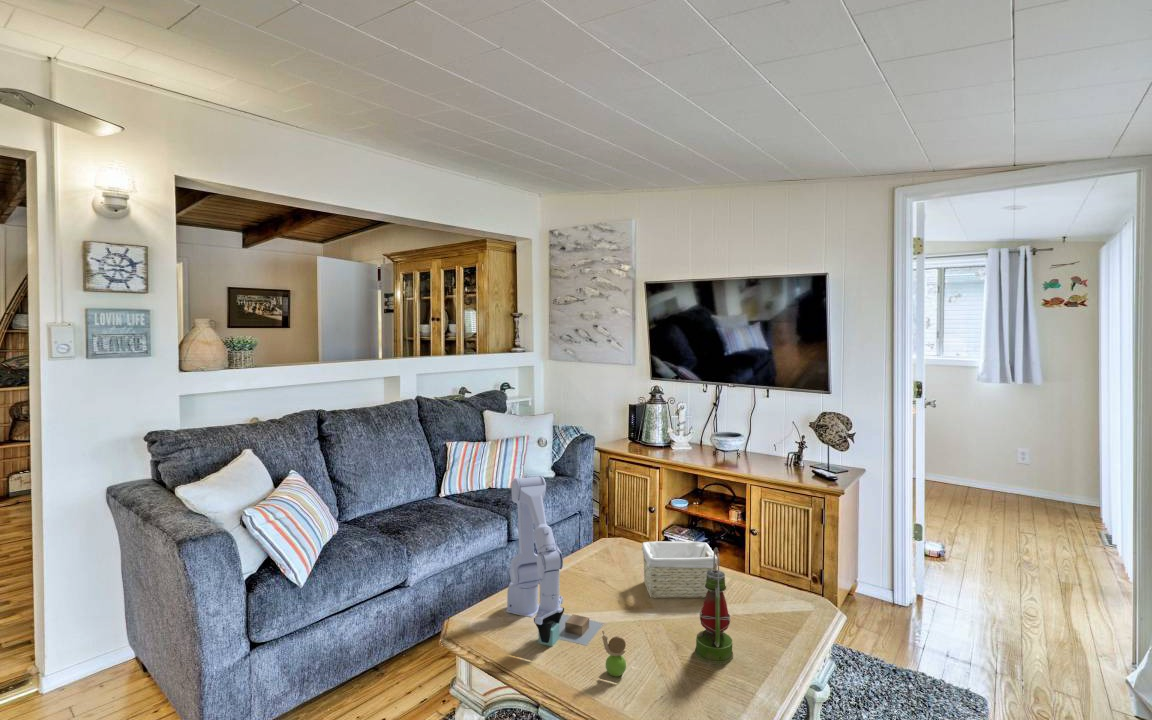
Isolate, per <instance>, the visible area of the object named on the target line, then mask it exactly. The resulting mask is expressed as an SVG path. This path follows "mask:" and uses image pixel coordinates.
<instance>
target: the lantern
mask: <svg viewBox="0 0 1152 720" xmlns="http://www.w3.org/2000/svg"><path fill="white" fill-rule="evenodd" d="M713 552H714V561H713V570H710V571H707V579H706V584H705V588H706V589H708V592H707V594H706V597H704V600H703V605H702V608H701V609H700V610H699V611H700V612H699V620H700V625H701V626H702V627H703V628H704V629H705V630H702V631H699V632H698V633H697V634H696V639H695V640H696V641H695V645H696V646H695V650H694V654H695V655H696V657H697V658H698V659H700V660H701V661H703V662H705V663H708V664H712V665H725V664H728V663H730V662H732V660H733V659H734V653H733V639H732V637H731V636H730V635H729V634H727V633H725V631H726V630H727V629H729V626H730V623H731V615H730V614H729V610H728V604H727V600H726V597H725V594H724V592H725V591H726V590H727V586H726V573H725V572H723V571H721V570H720V556H719V555H720V552H719V550H718V547H715V548H714V549H713ZM715 555H716V557H717V559H718V560H717V565H716V563H715Z"/></svg>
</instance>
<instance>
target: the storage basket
mask: <svg viewBox="0 0 1152 720" xmlns="http://www.w3.org/2000/svg"><path fill="white" fill-rule="evenodd" d="M641 550H642V554H643V556H642V559H643V583H644V585H645V588H646V590H647V592H648V594H649V597H650V598H654V599H662V598H664V599H665V598H671V599H674V598H684V599H694V598H696V599H697V598H702V599H703V598H704V599H705V597H706V594H707V592H708V589H706V588H705V584H706V579H707V571H710V570H713V561H714V550H712V547H710V545H709V544H708V543H707V542H704V541H703V542H702V541H659V540H658V541H655V540H654V541H646V542H645V541H643V542H642V547H641ZM715 563H716V565H717V566H718V557H717V554H715Z"/></svg>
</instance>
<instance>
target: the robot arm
mask: <svg viewBox="0 0 1152 720" xmlns="http://www.w3.org/2000/svg"><path fill="white" fill-rule="evenodd" d="M510 487H511V500H512V502H513V503H516V507H517V522H518V523H517V524H518V525H517V528H518V529H517V530H518V553H517V554H516V555H515V556H514V557H513V558H512V559H511V561H510V569H509V578H510V583H509V585H508V587H507V592H506V594H507V595H506V597H507V598H506V599H507V602H506V603H507V605H506V606H507V607H506V608H507V609H506V613H509V614H514V615H518V616H522V617H523V616H525V617H528V618H533V622H534V624H535V625H536V627H537V630H538V634H539V633H540V637H541V641H542V642H545V643H548V642H549V639H550V631H551V627H552V624H553V622H554V623H558V624H559V622H560V619H561V616H562V615H563V614H564V612H565V608H564V607H562V606H561V605H563V603H564V597H563V596H561V595H560V570H562V569H563V568H564V567H563V565H564V558H563V554H562V551H561V550H560V548H559V546H558V545H557V544H556V541H555V537H554V533H553V528H552V527H551V526H549V525H548V524H547V518H546V512H545V511H546V510H545V505H544V498H545V497H546V491H547V483H546V480H545V478H544V476H542V475H539V476H529V477H521V478H520V477H519V478H517V477H515V478H514V479H513V480H512V482H511V486H510ZM534 528H535V529H534ZM535 548H536V553H535Z"/></svg>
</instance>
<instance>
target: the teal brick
mask: <svg viewBox="0 0 1152 720" xmlns="http://www.w3.org/2000/svg"><path fill="white" fill-rule="evenodd" d="M559 640H560V639H559V624H558V623H554V622H553V624H552V627H551V631H550V639H549V642H548V643H545V642H542V641H541V637H540V633H539V632H538V642H537V643H538V644H540V645H544V646H549V647H551V648H552V647H554V646H555V644H557V642H559Z"/></svg>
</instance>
